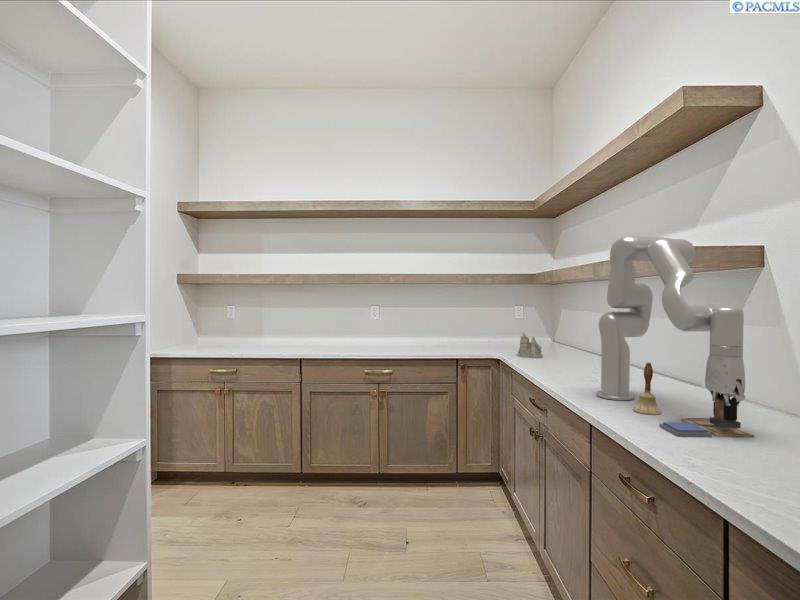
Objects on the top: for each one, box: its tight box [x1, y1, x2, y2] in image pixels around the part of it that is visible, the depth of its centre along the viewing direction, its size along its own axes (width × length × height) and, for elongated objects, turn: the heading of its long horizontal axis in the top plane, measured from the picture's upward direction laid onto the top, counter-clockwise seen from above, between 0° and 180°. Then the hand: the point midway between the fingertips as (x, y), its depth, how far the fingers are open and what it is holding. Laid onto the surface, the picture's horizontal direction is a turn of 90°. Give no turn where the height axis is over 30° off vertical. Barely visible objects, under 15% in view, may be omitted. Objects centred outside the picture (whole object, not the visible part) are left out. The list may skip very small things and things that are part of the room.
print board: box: [680, 417, 755, 438], centre depth 131 cm, size 16×10×1 cm, turn 179°
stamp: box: [709, 399, 741, 429], centre depth 127 cm, size 5×5×7 cm
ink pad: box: [659, 421, 713, 438], centre depth 127 cm, size 9×9×2 cm
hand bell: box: [632, 362, 663, 416], centre depth 149 cm, size 8×8×16 cm
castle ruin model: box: [517, 332, 544, 359], centre depth 282 cm, size 16×16×15 cm
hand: (724, 417), depth 127 cm, fingers closed on stamp, 3 cm apart
